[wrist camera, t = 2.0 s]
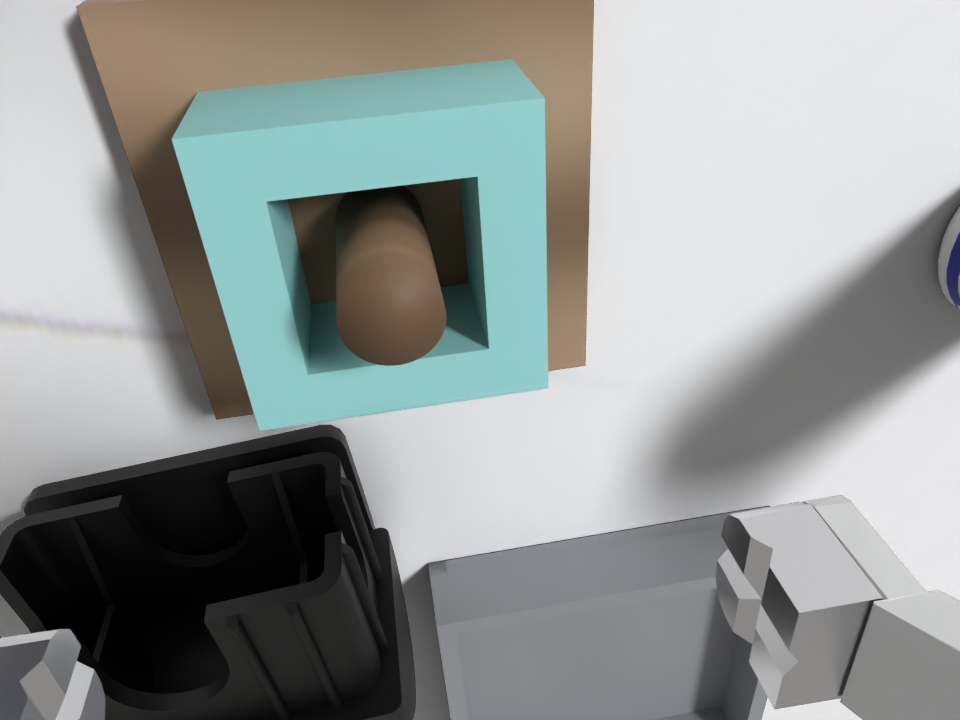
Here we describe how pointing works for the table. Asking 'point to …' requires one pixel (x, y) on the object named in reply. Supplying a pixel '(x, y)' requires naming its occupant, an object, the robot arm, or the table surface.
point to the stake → (358, 214)
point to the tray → (595, 630)
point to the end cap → (221, 584)
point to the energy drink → (950, 261)
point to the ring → (361, 166)
